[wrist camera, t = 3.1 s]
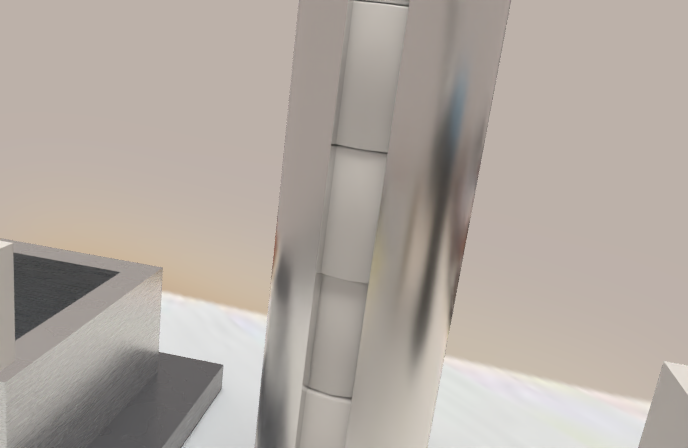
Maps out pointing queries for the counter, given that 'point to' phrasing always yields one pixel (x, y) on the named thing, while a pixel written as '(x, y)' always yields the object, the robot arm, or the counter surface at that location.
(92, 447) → the plate
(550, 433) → the counter surface
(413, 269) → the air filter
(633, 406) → the counter surface
